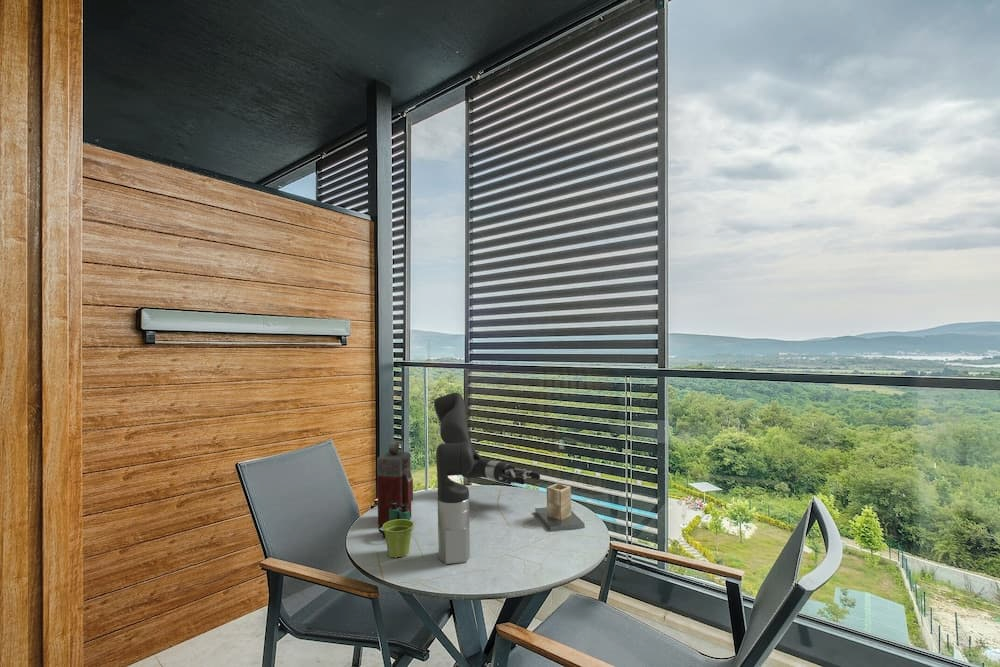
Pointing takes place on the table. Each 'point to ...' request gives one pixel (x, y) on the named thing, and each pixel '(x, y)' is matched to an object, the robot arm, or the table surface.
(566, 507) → the wooden sleeve
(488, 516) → the table surface
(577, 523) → the post plate
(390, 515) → the binoculars
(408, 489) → the dark red bottle
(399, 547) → the plant pot
